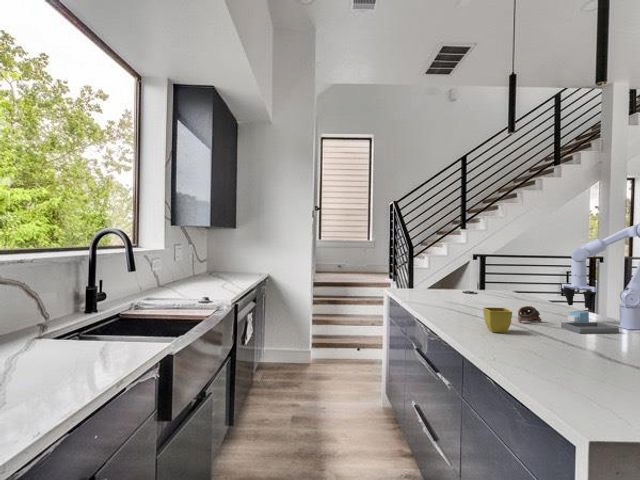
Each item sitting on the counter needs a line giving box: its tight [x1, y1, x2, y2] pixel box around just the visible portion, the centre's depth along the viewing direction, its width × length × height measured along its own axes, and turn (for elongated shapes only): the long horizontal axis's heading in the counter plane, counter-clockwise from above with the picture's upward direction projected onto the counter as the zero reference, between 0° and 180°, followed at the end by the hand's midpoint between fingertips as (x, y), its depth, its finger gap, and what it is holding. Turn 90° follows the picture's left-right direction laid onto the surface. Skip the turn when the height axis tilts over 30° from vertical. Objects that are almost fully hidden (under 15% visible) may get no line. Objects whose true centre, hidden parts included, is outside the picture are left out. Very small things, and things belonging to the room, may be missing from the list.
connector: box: [567, 310, 590, 322], centre depth 177 cm, size 10×4×5 cm, turn 113°
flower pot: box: [483, 306, 513, 334], centre depth 162 cm, size 9×9×9 cm
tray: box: [560, 321, 620, 335], centre depth 164 cm, size 16×12×2 cm
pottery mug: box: [517, 305, 542, 324], centre depth 180 cm, size 12×10×8 cm
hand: (578, 306), depth 177 cm, fingers open, 7 cm apart
